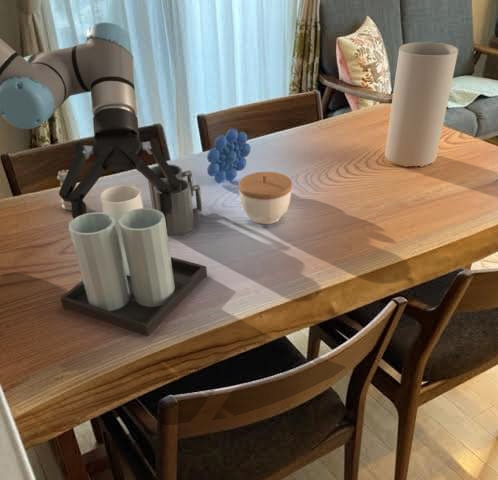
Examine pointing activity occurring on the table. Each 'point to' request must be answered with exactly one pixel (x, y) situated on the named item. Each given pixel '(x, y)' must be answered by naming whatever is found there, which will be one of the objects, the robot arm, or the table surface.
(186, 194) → the grey mug near
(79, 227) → the tumbler
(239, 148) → the grapes
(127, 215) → the tumbler
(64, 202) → the rook chess piece
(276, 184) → the trinket box
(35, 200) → the table surface
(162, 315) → the tray
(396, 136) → the cylinder vase
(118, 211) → the drinking glass
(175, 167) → the grey mug far
